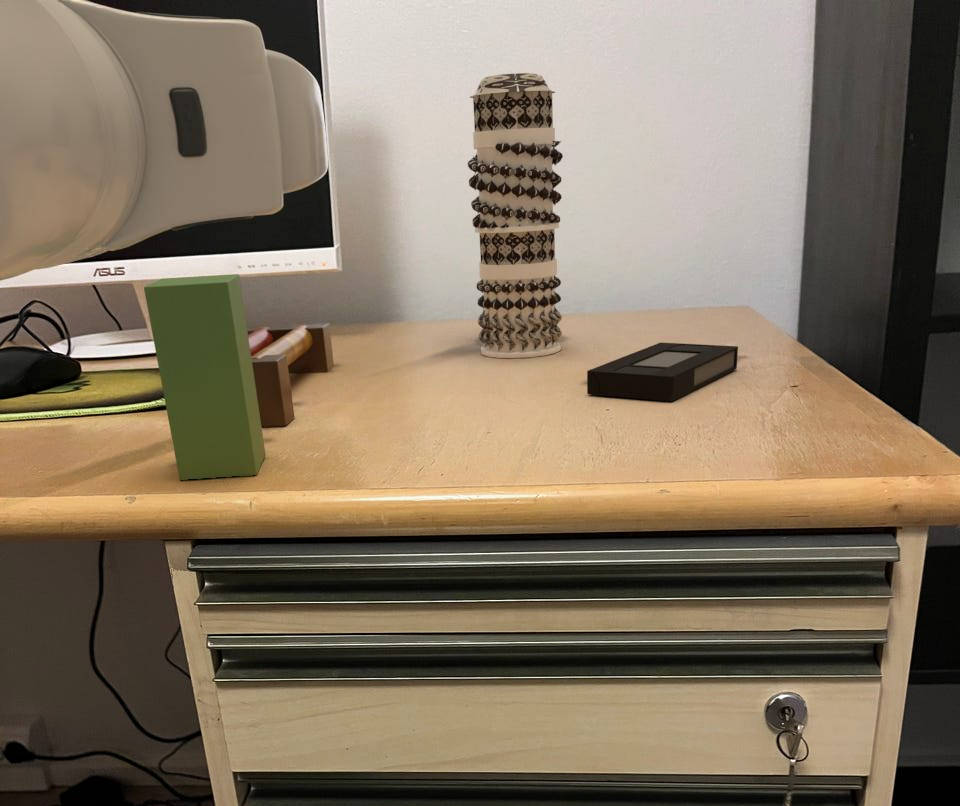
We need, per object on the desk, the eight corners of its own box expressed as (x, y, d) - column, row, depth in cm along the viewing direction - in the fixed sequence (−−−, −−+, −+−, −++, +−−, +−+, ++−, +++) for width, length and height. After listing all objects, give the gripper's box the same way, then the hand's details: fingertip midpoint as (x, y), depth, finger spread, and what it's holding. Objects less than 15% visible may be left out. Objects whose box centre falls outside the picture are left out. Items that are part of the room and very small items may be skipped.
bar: (179, 481, 64) (143, 286, 59) (193, 460, 69) (161, 278, 64) (256, 475, 65) (227, 281, 59) (265, 455, 69) (239, 274, 64)
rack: (186, 430, 77) (174, 363, 75) (253, 380, 95) (245, 325, 93) (286, 426, 77) (277, 359, 75) (335, 376, 95) (329, 321, 93)
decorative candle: (581, 345, 104) (579, 73, 93) (535, 360, 97) (528, 68, 86) (508, 341, 109) (498, 82, 98) (459, 355, 102) (443, 78, 91)
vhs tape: (737, 369, 88) (738, 346, 87) (671, 402, 78) (672, 376, 77) (659, 364, 92) (660, 342, 91) (587, 395, 82) (587, 370, 81)
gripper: (-232, 244, 37) (-73, 227, 49) (321, 211, 38) (339, 202, 50) (-299, 47, 34) (-112, 82, 46) (299, 17, 35) (324, 59, 47)
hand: (126, 144), depth 48 cm, fingers open, 8 cm apart
